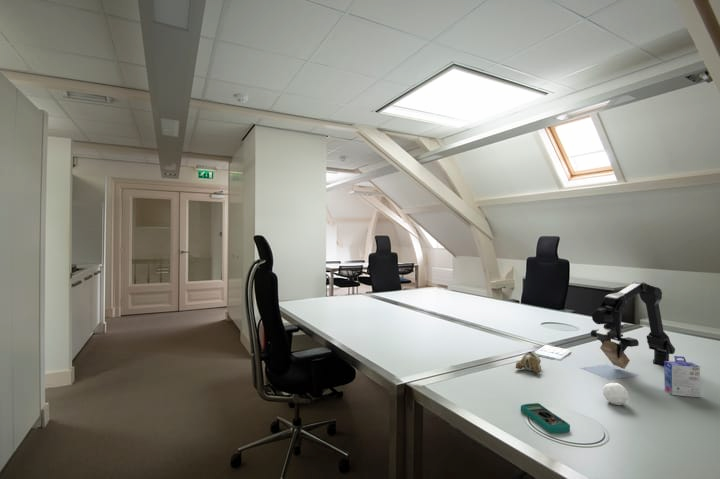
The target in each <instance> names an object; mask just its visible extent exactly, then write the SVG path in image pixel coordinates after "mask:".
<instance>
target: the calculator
mask: <svg viewBox="0 0 720 479" xmlns="http://www.w3.org/2000/svg"><path fill="white" fill-rule="evenodd" d="M534 352H535V353H536V354H537V355H538V356H539V358H540V357H542V358H545V359H550V360H557V361H562V360H563V359H565V358H567V357H568V356H570V355H571V353H572V350H571V349H567V348H563V347H557V346H553V345H552V346H551V345H548V344H545V345H543V346H542V347H540V348H539V349H537V350H535V351H534Z"/></svg>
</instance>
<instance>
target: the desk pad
mask: <svg viewBox="0 0 720 479" xmlns="http://www.w3.org/2000/svg"><path fill="white" fill-rule="evenodd" d="M581 369H582V370H583V371H586V372H589V373H592V374H593V375H597V376H599V377H602V378H604V379H606V380H610V381H611V380H616V379H621V378H627V377H633V376H638V374H637V373H634V372H631V371H628V370H625V369H623V368H621V367H618V366H615V365H611V364H608V363H606V364H600V365H593V366H586V367H580V370H581Z"/></svg>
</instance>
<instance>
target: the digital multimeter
mask: <svg viewBox="0 0 720 479" xmlns="http://www.w3.org/2000/svg"><path fill="white" fill-rule="evenodd" d="M520 411H521V412H522V413H523V414H524V415H526V416H527V417H529V419H531V420H532V421H533V422H535V423H536V424H538V425H539V426H540V427H541V428H543V429H544V430H545V431H546V432H548V433H549V434H564V433H567V432H570V431H571V425H570V424H569V422H567V421H565V420H564V419H562V418H561V417H559V416H558V415H556V414H554V413H553V412H552V411H550V410H549V409H547V407H545V406H544V405H542V404H541V403H539V402H535V403H534V402H533V403H525V404H521V405H520Z"/></svg>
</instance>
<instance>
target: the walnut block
mask: <svg viewBox="0 0 720 479" xmlns="http://www.w3.org/2000/svg"><path fill="white" fill-rule="evenodd" d="M616 344H618V343H617V342H615V341H612V340H611V341H604V342H603V344H602V343H601V345H600V346H599V349H600V350H601V351H602V352H603V353H604V355H605V357H606V358H607V359H608V360H609V361H610V362H611V364H612V366H614V367H617V368H620V369H623V370H625V369H626V367H627V366H628V364H629V362H630V359H629V357H628V356H627V355H626V354H625V352H624V353H623V354H622V356H621V357H620V358H618V347H617V345H616Z"/></svg>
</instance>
